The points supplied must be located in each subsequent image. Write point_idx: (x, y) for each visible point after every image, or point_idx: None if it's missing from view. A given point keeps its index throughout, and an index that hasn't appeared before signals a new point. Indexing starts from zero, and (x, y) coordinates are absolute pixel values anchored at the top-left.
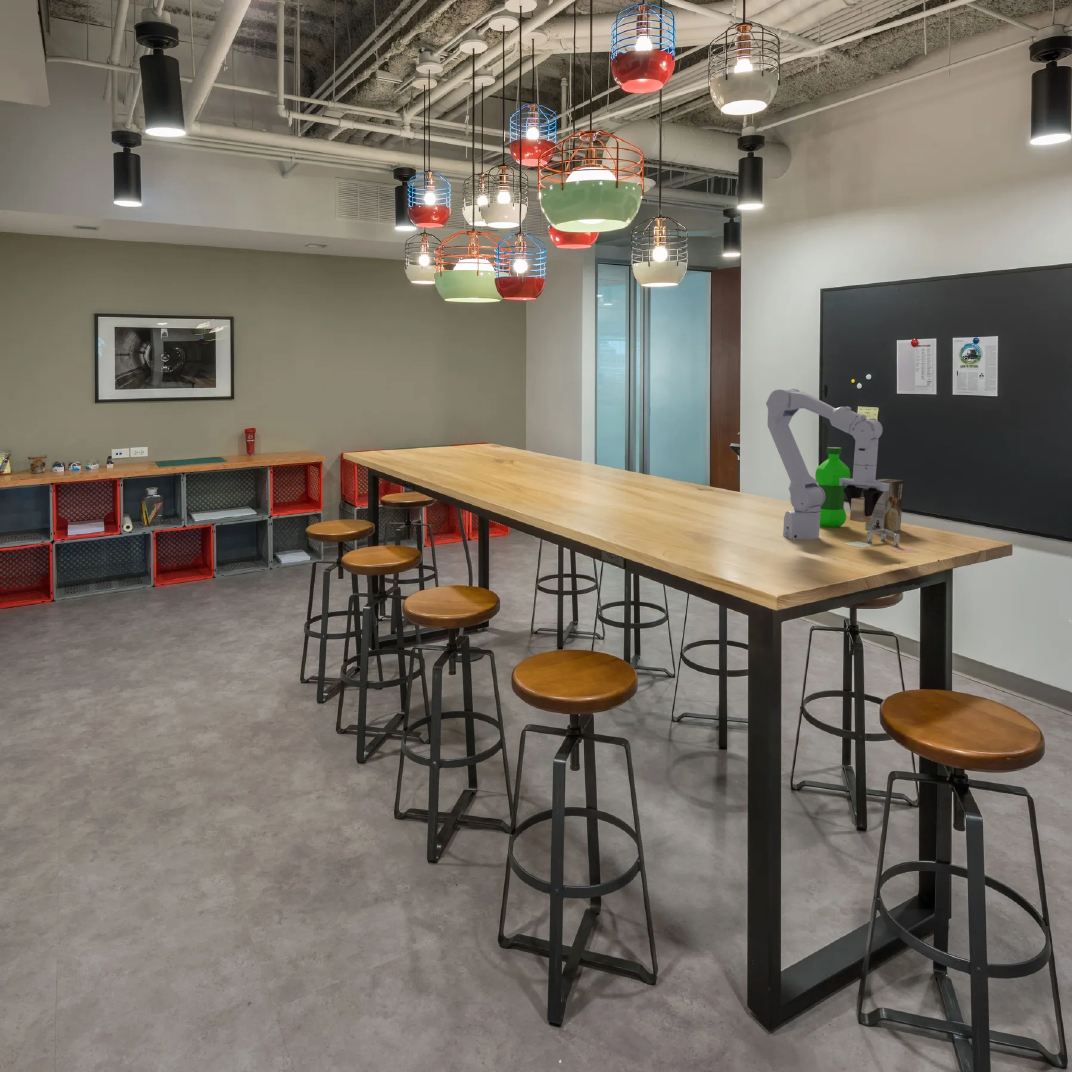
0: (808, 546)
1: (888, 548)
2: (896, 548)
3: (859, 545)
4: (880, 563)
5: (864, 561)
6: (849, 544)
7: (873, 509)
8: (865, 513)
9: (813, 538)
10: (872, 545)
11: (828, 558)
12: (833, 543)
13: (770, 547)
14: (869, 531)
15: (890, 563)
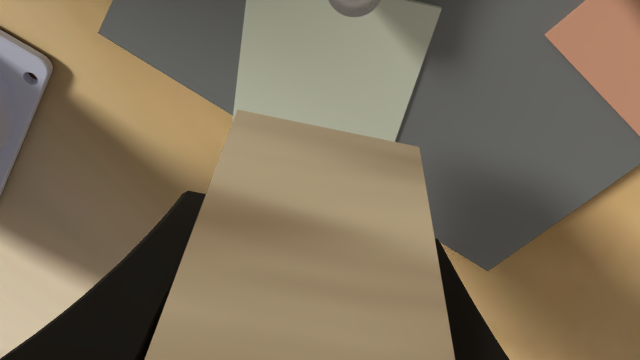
0: (88, 202)
1: (566, 57)
2: (631, 19)
3: (348, 109)
4: (574, 308)
5: (494, 314)
6: None
7: (466, 301)
8: None
9: (3, 131)
10: (424, 42)
11: None
12: (85, 7)
13: (24, 318)
14: (359, 10)
15: (622, 285)
